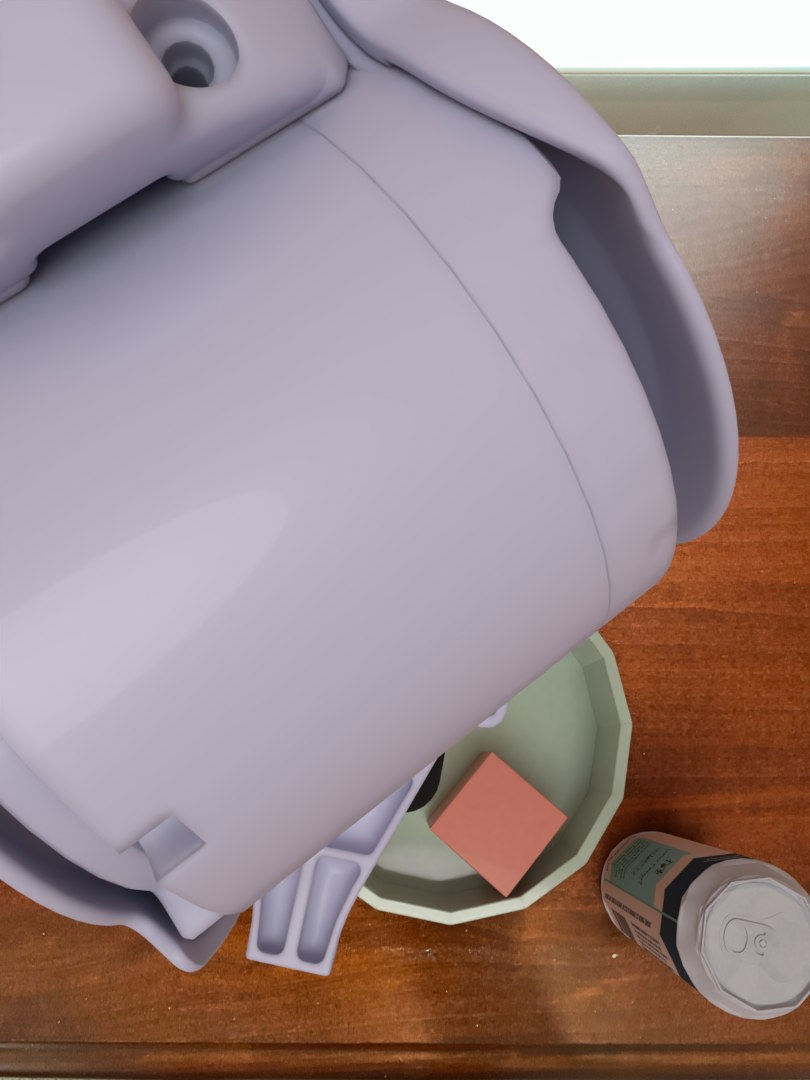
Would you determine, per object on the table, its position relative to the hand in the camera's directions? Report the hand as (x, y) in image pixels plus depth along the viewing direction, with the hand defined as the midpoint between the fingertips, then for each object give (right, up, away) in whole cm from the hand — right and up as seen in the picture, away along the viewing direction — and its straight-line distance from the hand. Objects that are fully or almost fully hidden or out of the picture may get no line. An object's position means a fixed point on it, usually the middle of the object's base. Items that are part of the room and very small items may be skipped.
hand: (367, 687), depth 30 cm
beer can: (+12, -10, +8) cm, 18 cm away
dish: (+3, -4, +9) cm, 11 cm away
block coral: (+5, -7, +8) cm, 12 cm away
